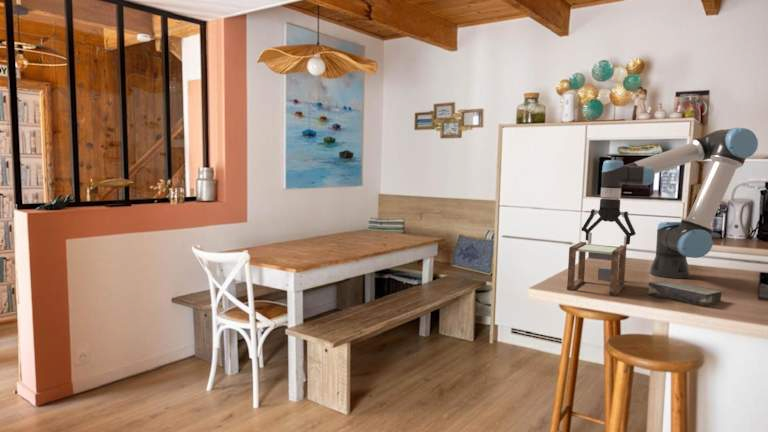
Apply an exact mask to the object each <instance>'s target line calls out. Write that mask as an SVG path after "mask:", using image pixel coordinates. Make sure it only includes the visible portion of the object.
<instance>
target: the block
mask: <svg viewBox="0 0 768 432" xmlns="http://www.w3.org/2000/svg"><path fill="white" fill-rule="evenodd" d="M647 285H648V293H647V295H648V296H649V297H652V298H653V297H654V298H658V299H663V300H669V301H673V302H678V303H682V304H686V305H692V306H697V307H702V308H706V307H710V306H713V305H715V304H718V303H720V301H721V300H722V294H723V293H722V291H719V290H714V289H710V288H705V287H699V286H696V285H695V286H694V285H691V284H690V285H689V284H685V283H680V282H675V281H671V280H657V281H651V282H650V281H649V282H648V284H647ZM721 302H722V301H721Z"/></svg>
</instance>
